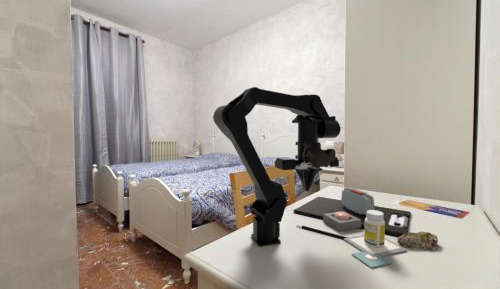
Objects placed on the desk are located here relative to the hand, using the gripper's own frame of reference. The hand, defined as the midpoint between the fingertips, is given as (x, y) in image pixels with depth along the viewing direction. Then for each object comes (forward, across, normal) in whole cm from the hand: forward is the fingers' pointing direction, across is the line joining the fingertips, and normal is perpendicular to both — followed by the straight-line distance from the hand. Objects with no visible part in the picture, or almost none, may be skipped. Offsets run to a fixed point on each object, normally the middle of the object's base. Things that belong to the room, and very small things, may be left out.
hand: (306, 190), depth 72 cm
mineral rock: (+13, +24, -16) cm, 32 cm away
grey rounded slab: (+12, +26, +8) cm, 30 cm away
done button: (+11, +13, 0) cm, 17 cm away
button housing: (+12, +13, 0) cm, 18 cm away
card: (+12, +6, -19) cm, 23 cm away
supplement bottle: (+12, +12, -14) cm, 22 cm away
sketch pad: (+12, +12, -14) cm, 22 cm away
